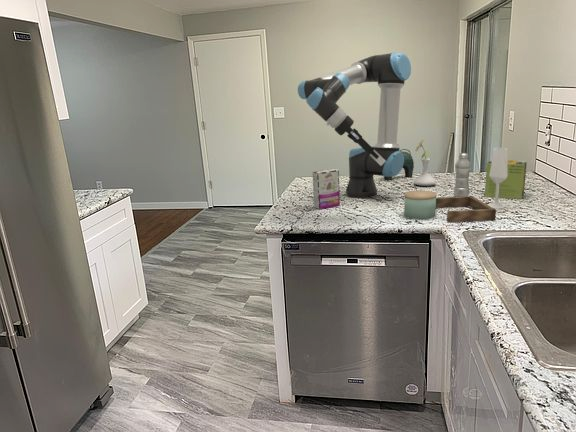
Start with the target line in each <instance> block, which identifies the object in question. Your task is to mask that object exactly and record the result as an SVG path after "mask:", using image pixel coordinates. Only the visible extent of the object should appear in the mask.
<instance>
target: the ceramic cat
mask: <svg viewBox="0 0 576 432" xmlns="http://www.w3.org/2000/svg"><path fill="white" fill-rule="evenodd" d="M397 145H398V146H399V144H398V143H397ZM399 147H400V146H399ZM399 151H400V152H401V153H403V156H404V164H403V167H402V169H403V170H404V177H405V178H407V177H410V178H412V177H413V174H414V168H415V167H414V163H415V162H414V158H413V156H412V153H411V151H410V150H409V149H406V148H403V149H399ZM383 177H384V178H383V179H384V181H386V180H387V181H388V182H389V180H390V181H392V180H393V177H389V176H388V177H385V176H383ZM387 181H386V182H387Z"/></svg>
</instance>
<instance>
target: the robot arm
mask: <svg viewBox="0 0 576 432" xmlns="http://www.w3.org/2000/svg"><path fill="white" fill-rule="evenodd" d="M411 74H412V65H411V61H410V59H409V57H408V56H407V55H406V54H405V53H403V52H390V53H383V54H375V55H371V56H368V57H365V58H363V59H361V60H358V61H355V62H353V63H352V64H351V65H350V66H347V67H345V68H342V69H339V70H337V71H334V72H331V73H328V74H325V75H322V76H319V77H317V78H314V79H309V80H308V79H307V80H304V81H301V82H300V83H299V84H298V86H297V94H298V97H299V98H300V99H302V100H306V104H307V105H308V106H309V107H310V109H312V110H313V111H314V112H315V113H316V114H317V115H318V116H319V117H320V118H321V119H323V121H325V122H326V126H330V127H331V128H332V129H334V131H335V132H336V133H337V134H338V135H339V136H343V135H344V134H346V133H347V137H348V138H349V139H351V140H352V141H353V142H354V143H355V144H357V145H359V146H360V147H356V148H352V149H350V150H349V152H348V169H349V171H348V174H349V175H348V176H349V180H348V182H347V186H346V190H345V195H346V196H347V197H348V198H349V197H350V198H358V199H359V198H361V199H362V198H371V197H375V196H377V195H378V189H377V186H376V183H375V179H374V176H379V177H384V176H385V177H388V176H389V177H392V178H393V177H396V176H398V175H399V174H400V172H402V169H403V168H402V167H403V164H404V156H403V153H401V152H400V150H401V149H400V146H398V145H399V144H398V143H397V140H398V129H399V128H398V127H399V114H400V103H401V102H400V100H401V89H402V88H403V87H404V86H405V81H407V80H408V79H409V78H410V75H411ZM364 83H377V86H378V87H379V88H380V97H379V99H380V100H379V114H378V125H377V127H378V129H377V131H378V132H377V143H376V144H374V146H371V145H370V144H369V143H368V142H367V141H366V140H365V139H364V138H363V135H361V134H360V132H359V131H358V130H357V129H356V128H352V126H353V125H354V122H355V121H354V120H353V119H352V118H351V117H350V116H349V115H347V113H346V112H345V111H344V110H343V109H342V108H341V107H340V106H339V105H338V104H337V102H338V101H339V100H340V99H341V98H342V96H344V94H345V93H346V92H347V90H348V89H349V87H350V86H352V85H354V84H357V85H361V84H364ZM397 144H398V145H397Z"/></svg>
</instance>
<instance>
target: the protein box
mask: <svg viewBox="0 0 576 432" xmlns="http://www.w3.org/2000/svg"><path fill="white" fill-rule="evenodd" d="M491 163H492V159H491V160H489V161H488V162H487V163H486V171H485V172H486V174H485V175H486V176H485V187H484V197H485V198H486V197H487V198H495V193H496V183H494V182H493V181H492V180H491V178H490V176H489V175H490V169H491ZM527 163H528V161H527V160H514V159H513V160H508V159H507V174H508V176H507V178H506V179H505V180H504V181H503V182H502V183H500V184H499V194H498V199H499V198H501V199H502V198H503V199H515V200H517V199H518V200H522V199H523V198H524V195H525V185H526V177H527V176H526V175H527V166H528V165H527Z"/></svg>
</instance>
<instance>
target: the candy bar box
mask: <svg viewBox="0 0 576 432" xmlns="http://www.w3.org/2000/svg"><path fill="white" fill-rule="evenodd" d="M312 189H313V207H314V209H316V210H317V209H318V210H325V209H329V208H335V207H340V206H341V199H340V198H341V197H340V196H341V194H340V190H341V189H340V170H339V169H336V168H330V169H324V170H323V169H322V170H318V171H312Z"/></svg>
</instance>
